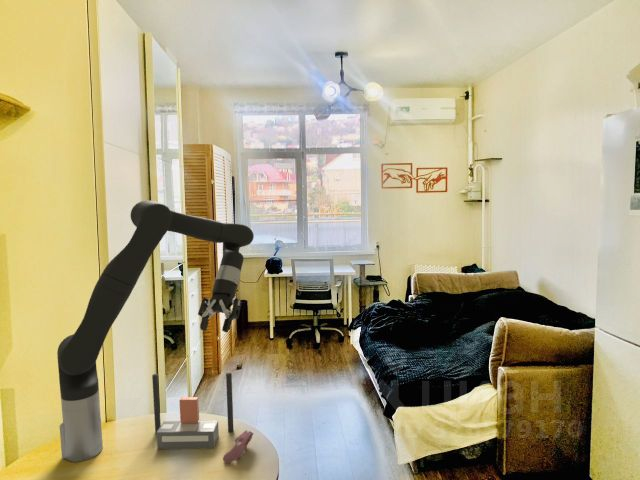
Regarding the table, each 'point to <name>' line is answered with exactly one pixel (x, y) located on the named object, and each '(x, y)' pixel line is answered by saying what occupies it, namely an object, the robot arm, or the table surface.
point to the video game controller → (238, 447)
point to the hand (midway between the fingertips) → (213, 330)
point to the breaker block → (187, 435)
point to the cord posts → (157, 404)
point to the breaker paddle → (189, 410)
